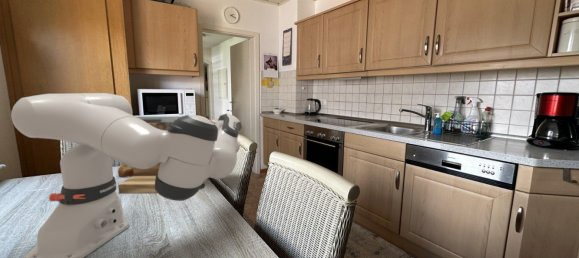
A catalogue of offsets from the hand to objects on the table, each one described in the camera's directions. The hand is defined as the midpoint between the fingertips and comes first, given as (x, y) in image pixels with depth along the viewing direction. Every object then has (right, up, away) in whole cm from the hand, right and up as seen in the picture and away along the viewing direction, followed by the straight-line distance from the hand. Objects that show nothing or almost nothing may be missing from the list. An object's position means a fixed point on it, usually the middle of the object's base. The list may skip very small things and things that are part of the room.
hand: (177, 117), depth 109 cm
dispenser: (-12, -27, +4) cm, 30 cm away
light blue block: (-8, -2, 0) cm, 8 cm away
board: (-5, -29, -7) cm, 30 cm away
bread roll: (-27, -27, +11) cm, 39 cm away
